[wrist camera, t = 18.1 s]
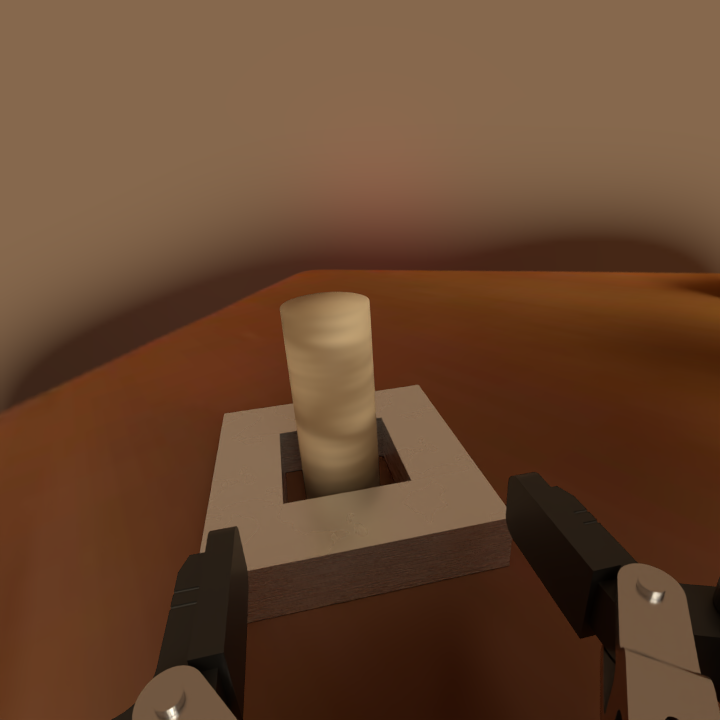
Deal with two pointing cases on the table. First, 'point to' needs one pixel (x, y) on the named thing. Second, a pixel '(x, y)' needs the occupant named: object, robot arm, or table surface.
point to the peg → (332, 390)
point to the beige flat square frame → (354, 510)
